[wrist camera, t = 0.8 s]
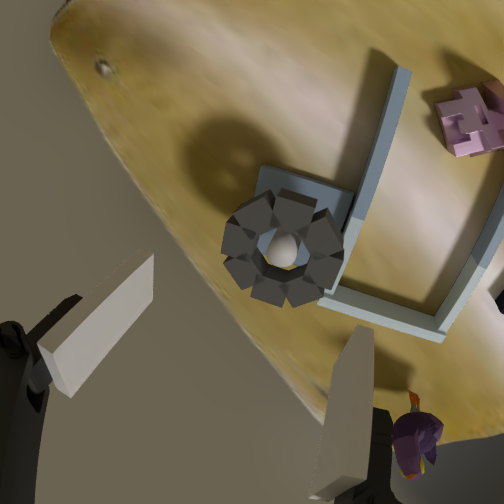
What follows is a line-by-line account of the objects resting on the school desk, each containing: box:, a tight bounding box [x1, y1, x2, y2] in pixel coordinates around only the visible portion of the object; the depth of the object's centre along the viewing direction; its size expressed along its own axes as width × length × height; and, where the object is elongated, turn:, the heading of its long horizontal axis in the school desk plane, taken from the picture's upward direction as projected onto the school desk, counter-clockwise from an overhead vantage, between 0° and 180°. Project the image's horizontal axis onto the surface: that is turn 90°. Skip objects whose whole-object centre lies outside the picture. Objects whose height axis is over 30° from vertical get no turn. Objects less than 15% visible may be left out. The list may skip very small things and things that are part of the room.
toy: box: [392, 391, 444, 481], centre depth 32 cm, size 11×12×7 cm
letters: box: [435, 79, 504, 157], centre depth 19 cm, size 8×7×6 cm
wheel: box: [221, 188, 344, 308], centre depth 26 cm, size 10×10×2 cm
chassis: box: [253, 66, 504, 343], centre depth 25 cm, size 24×25×8 cm
